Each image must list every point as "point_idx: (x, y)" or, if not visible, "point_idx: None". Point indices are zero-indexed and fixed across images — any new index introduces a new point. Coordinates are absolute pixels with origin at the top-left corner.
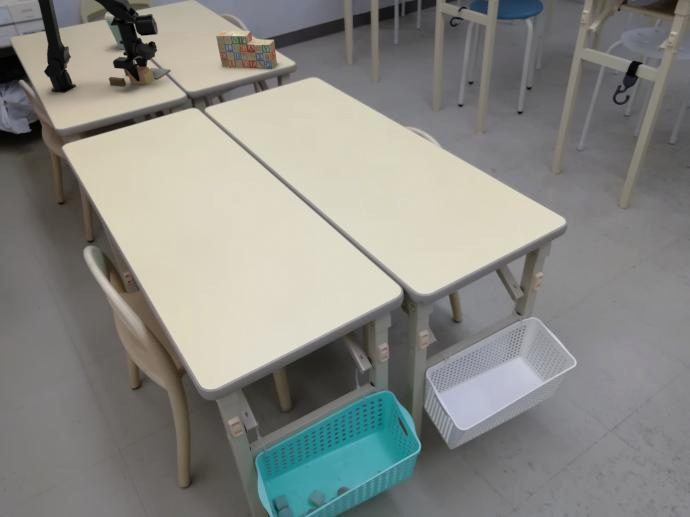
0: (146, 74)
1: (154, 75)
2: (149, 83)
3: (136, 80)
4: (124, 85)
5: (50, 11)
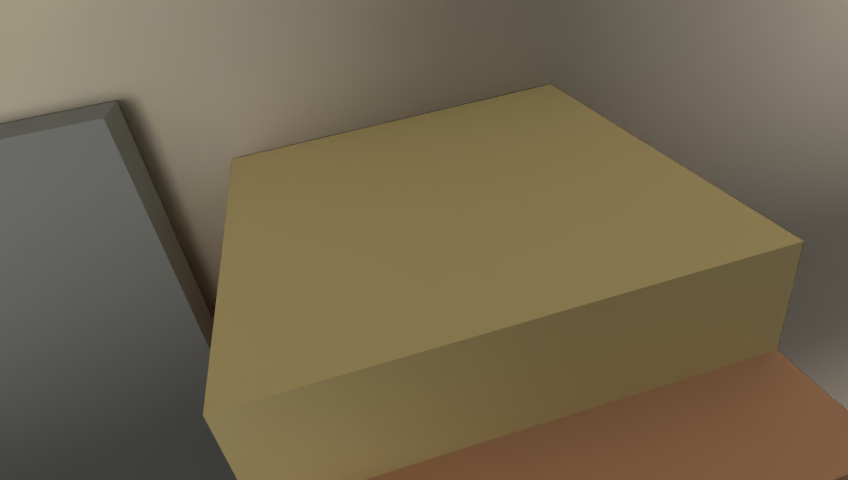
0: (724, 229)
1: (21, 381)
2: (506, 100)
3: None
4: None
5: None
